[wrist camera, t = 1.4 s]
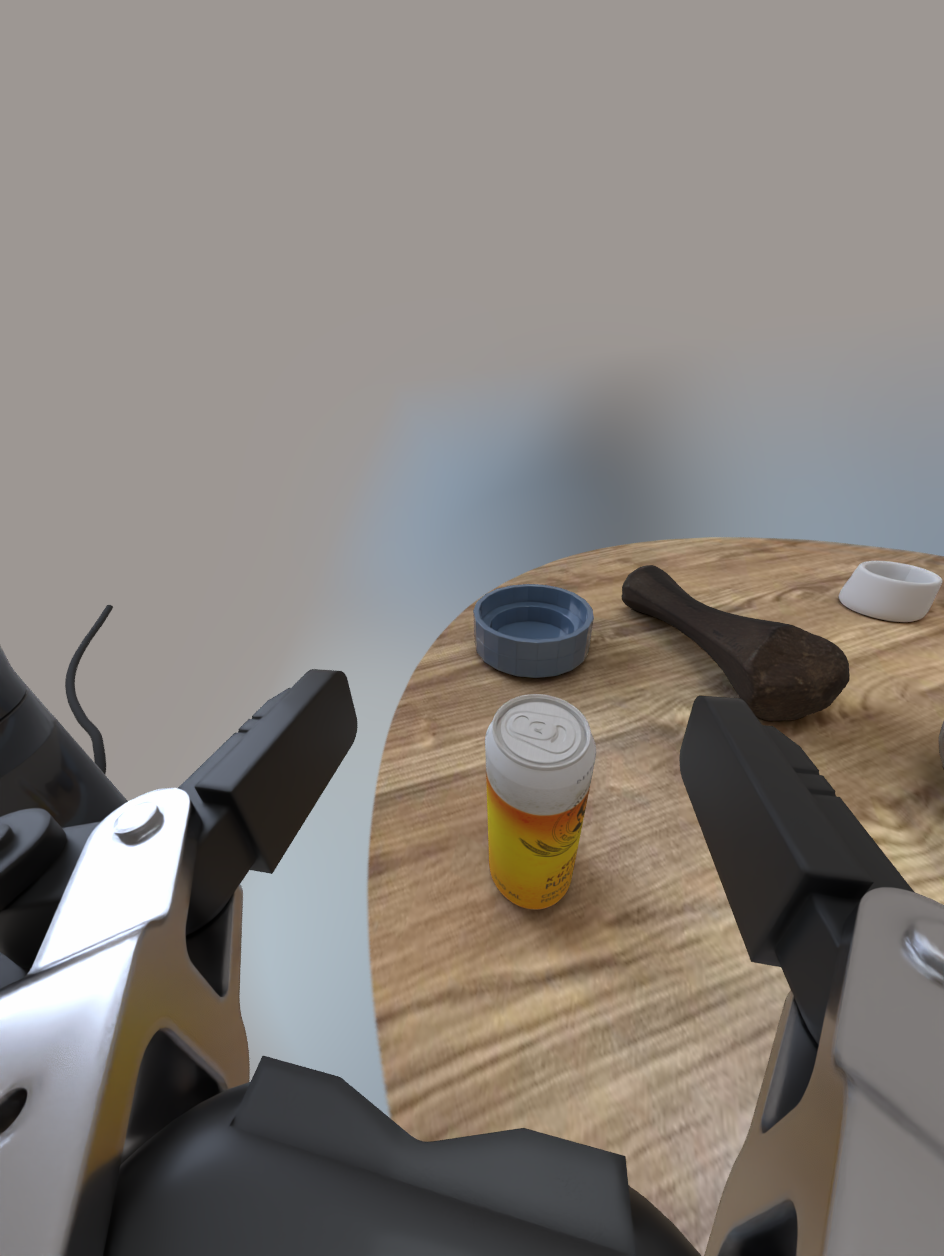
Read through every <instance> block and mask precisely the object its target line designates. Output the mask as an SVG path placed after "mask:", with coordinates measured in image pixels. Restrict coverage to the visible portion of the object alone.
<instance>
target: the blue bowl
mask: <svg viewBox="0 0 944 1256" xmlns="http://www.w3.org/2000/svg"><path fill="white" fill-rule="evenodd" d="M473 613H474V636H475V646H476V651H477V653H478V654H479V656H480V657H481V658H482V659H483V660H484V662H485V663H487V664H489V665H490V666H492V667H494V668H495V669H497V670H499V671H502V672H505V673H508V674H512V675H515V676H521V677H532V678H540V677H549V676H557V675H560V674H563V673H566V672H568V671H571V670H573V669H574V668H576V667H577V666H578V665H580V664H581V663H582V662H583V661H584V660H585V658H586V656H587V654H588V652H589V646H590V639H591V632H592V626H593V619H594V617H593V609H592V608H591V607H590V605H589V604H588V603H587V601H586V600H584V599H583V598H581V597H580V596H578V595H577V594H575V593H573V592H570V591H567V590H565V589H562V588H558V587H553V586H547V585H536V584H523V585H512V586H507V587H503V588H499V589H496V590H494V591H492V592H490V593H487V594H485V595H484V596H483V597H482V598H481V599H480V600H478V601H477V603H476V605H475V608H474V610H473Z"/></svg>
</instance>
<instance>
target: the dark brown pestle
mask: <svg viewBox="0 0 944 1256" xmlns="http://www.w3.org/2000/svg"><path fill="white" fill-rule="evenodd" d="M622 600H623V602H624V603H625V604H626V605H627V606H628V607H630V608H631V609H633V610H636V611H639V612H642V613H645V614H648V615H650V616H653V617H656V618H658V619H660V620H662V621H664V622H666V623H668V624H670V625H672V626H673V627H675V628H677V629H678V630H680V631H681V632H682V633H684V634H685V635H687V636H688V637H689V638H691V639H692V640H693V641H694V642H696V643H697V644H698V645H699V646H700V647H701V648H702V649H704V650H705V651H706V652H707V653H708V655H710V656H711V657H712V659H713V660H714V661H715V662H716V663H717V664H718V666H719V667H720V668H721V669H722V670H723V672H724V673H725V675H726V676H727V678H728V679H729V681H730V683H731V684H732V686H733V687H734V689H735V690H736V692H737V694H738V695H739V697H740V698H741V699H742V700H744V701H745V702H746V703H747V705H748V706H749V708H750V709H751V710H752V712H753V713H754V715H755V716H756V717H758V718H760V719H763V720H768V721H782V720H795V719H799V718H802V717H804V716H806V715H809V714H812V713H815V712H818V711H821V710H823V709H825V708H827V707H828V706H830V705H831V703H832V702H833V701H834V700H835V699H836V697H837V696H838V695H839V694H840V693H841V692H842V690H843V689H844V688H845V687H846V685H847V683H848V682H849V663H848V660H847V657H846V656H845V654H844V653H843V651H842V650H841V649H840V648H839V647H838V646H836V645H835V644H834V643H832V642H830V641H828V640H827V639H824V638H822V637H820V636H817V635H814V634H811V633H809V632H807V631H804V630H802V629H800V628H798V627H795V626H793V625H789V624H784V623H779V622H772V621H766V620H760V619H754V618H748V617H743V616H739V615H734V614H730V613H727V612H723V611H720V610H717V609H715V608H712V607H709V606H707V605H705V604H703V603H700V602H699V601H697V600H695V599H693V598H692V597H691V596H690V595H689V594H687V593H686V592H685V591H684V590H683V589H682V588H681V587H680V586H679V585H678V584H677V583H676V582H675V581H674V580H673V579H672V578H671V577H670V576H669V575H668V574H667V573H666V572H664V571H663V570H661V569H660V568H658V567H656V566H653V565H649V566H643V567H640V568H638V569H636V570H635V571H633V572H632V573H631V574H629V575H628V577H627V578H626V580H625V582H624V584H623V586H622Z"/></svg>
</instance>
